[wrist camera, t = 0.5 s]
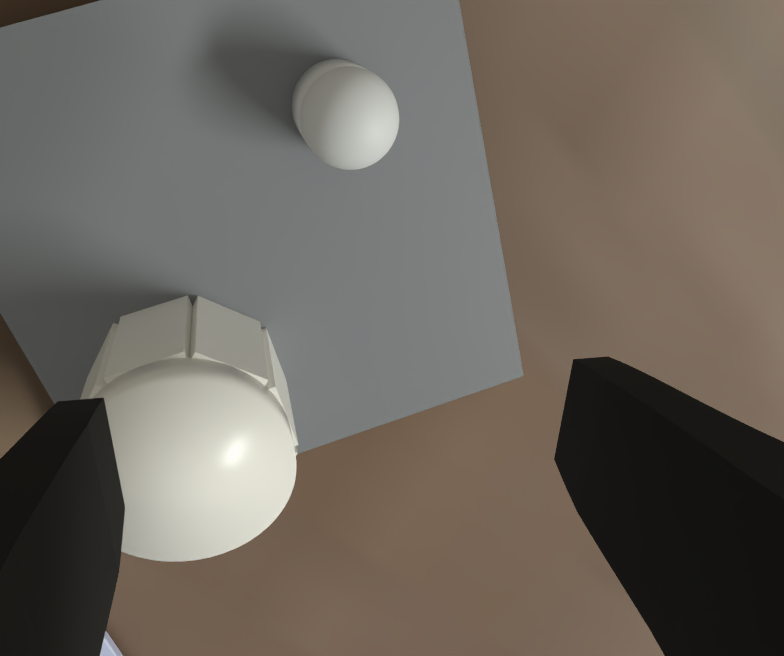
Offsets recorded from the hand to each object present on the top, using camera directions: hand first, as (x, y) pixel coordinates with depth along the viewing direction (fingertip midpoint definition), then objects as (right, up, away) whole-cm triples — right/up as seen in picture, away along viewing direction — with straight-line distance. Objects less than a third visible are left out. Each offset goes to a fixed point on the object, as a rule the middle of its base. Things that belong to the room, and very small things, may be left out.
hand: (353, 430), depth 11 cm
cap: (-5, 0, +8) cm, 10 cm away
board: (-3, +4, +9) cm, 10 cm away
